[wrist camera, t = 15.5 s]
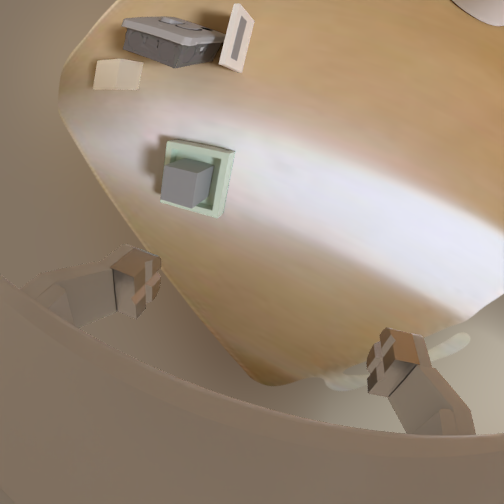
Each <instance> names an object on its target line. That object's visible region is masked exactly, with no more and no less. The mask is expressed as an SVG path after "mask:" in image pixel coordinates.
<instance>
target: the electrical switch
mask: <svg viewBox="0 0 504 504" xmlns="http://www.w3.org/2000/svg"><path fill="white" fill-rule="evenodd" d="M121 26H122V27H126V28H127V33H126V40H125V43H124V46H123V49H124V50H127V51H130V52H133V53H136V54H138V55H141V56H144V57H147V58H150V59H152V60H155V61H157V62H160V63H163V64H165V65H168V66H170V67H173V68H175V67H176V68H179V67H184V66H188V65H193V64H199V63H204V62H210V61H213V59H214V57H215V54H216V52H217V51H218V50H219V47H220V45H221V43H222V42H223V43H224V40H225V36H226V34H223V33H221V32H218V31H215V30H212V29H209V28H207V27H204V26H201V25H198V24H195V23H192V22H188V21H185V20H182V19H178V18H175V17H137V18H126V19H124V20H123V23H122V25H121ZM133 49H134V50H133ZM177 61H178V62H177ZM176 64H177V65H176Z"/></svg>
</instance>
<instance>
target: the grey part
mask: <svg viewBox="0 0 504 504" xmlns="http://www.w3.org/2000/svg"><path fill="white" fill-rule="evenodd" d="M214 166H215V165H212V164H208V163H204V162H200V161H196V160H191V159H187V158H184V159H181V160H178V161H175V162H172V163H169V164H167V165H164V173H163V181H162V189H161V200H165V201H168V202H171V203H175V204H178V205H181V206H185V207H188V208H191V209H192V208H193V207H195V206H196V205H197V204H199V203H200V202H201V201H203V200H204V199H206V198H207V197H208V196H209V193H210V187H211V182H212V177H213V171H214Z"/></svg>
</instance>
